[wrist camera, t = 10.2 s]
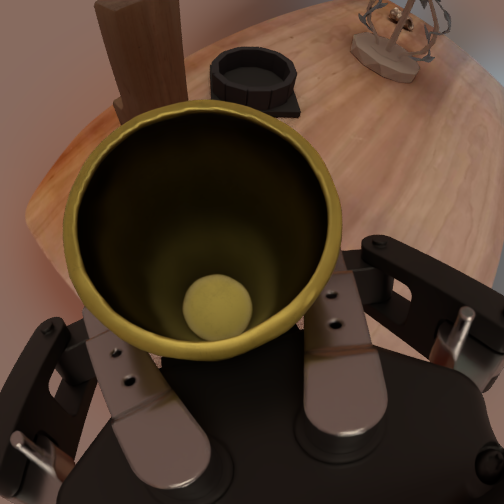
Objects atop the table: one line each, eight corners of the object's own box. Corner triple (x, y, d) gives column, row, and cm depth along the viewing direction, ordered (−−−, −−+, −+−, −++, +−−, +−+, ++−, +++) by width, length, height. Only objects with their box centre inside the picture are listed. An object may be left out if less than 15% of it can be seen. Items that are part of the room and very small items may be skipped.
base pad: (212, 119, 30) (211, 94, 26) (209, 70, 33) (209, 46, 29) (299, 117, 31) (306, 93, 27) (283, 69, 34) (288, 47, 30)
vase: (184, 254, 19) (122, 76, 6) (274, 276, 19) (369, 122, 6) (160, 343, 17) (4, 317, 4) (254, 367, 17) (339, 422, 4)
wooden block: (121, 127, 29) (76, -5, 12) (153, 107, 30) (126, -26, 13) (160, 173, 27) (113, 10, 10) (196, 149, 29) (180, -14, 11)
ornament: (379, 12, 48) (383, 2, 44) (399, 18, 49) (404, 8, 45) (396, 27, 45) (401, 16, 42) (416, 33, 46) (421, 23, 43)
